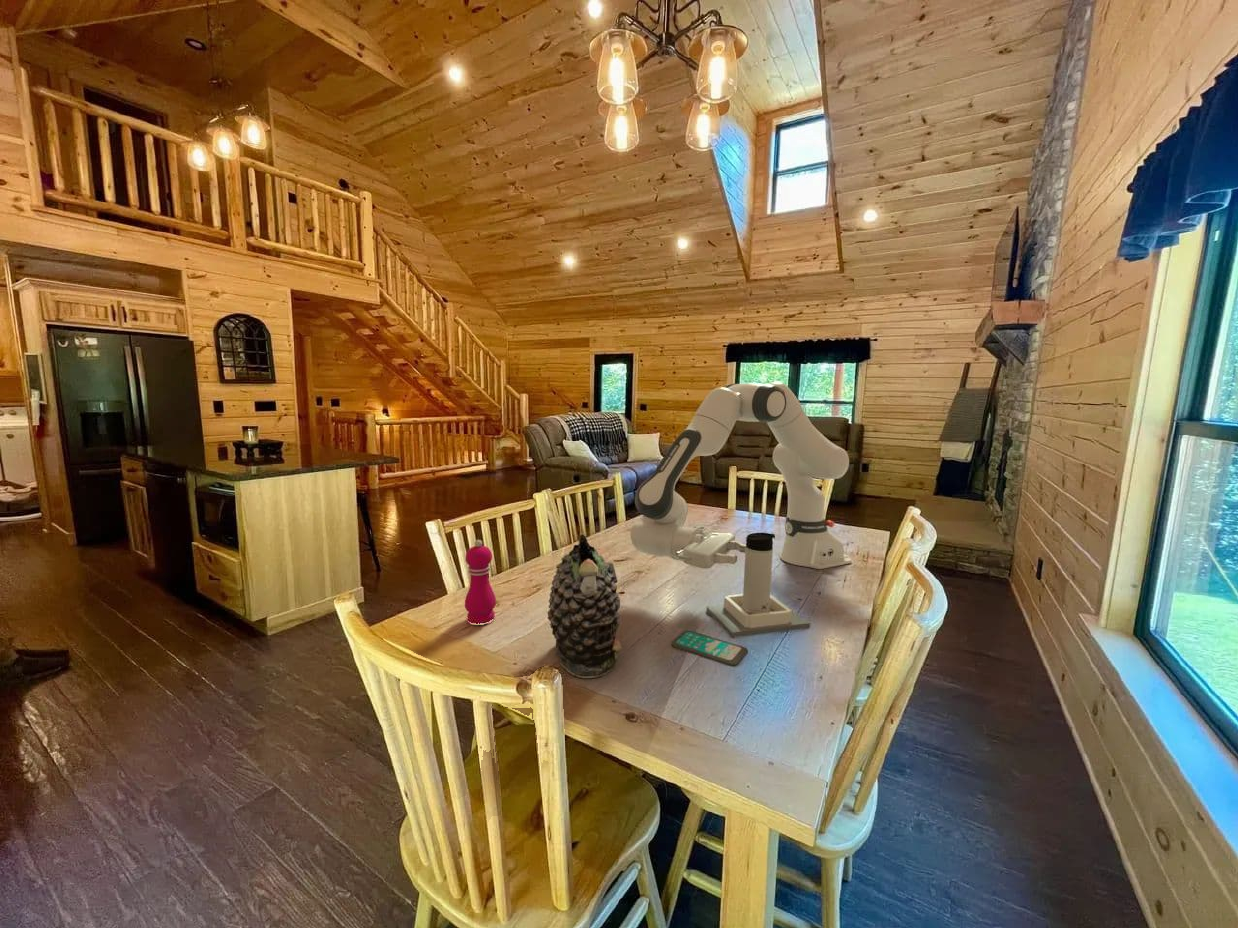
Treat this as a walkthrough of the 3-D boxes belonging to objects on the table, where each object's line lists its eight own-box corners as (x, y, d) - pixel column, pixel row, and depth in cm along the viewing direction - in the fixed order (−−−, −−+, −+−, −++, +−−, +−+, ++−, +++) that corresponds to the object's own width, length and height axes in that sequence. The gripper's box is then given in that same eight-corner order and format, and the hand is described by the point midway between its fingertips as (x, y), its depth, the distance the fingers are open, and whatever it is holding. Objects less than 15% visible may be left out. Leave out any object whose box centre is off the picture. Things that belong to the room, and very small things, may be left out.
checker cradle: (776, 602, 130) (777, 588, 129) (809, 627, 116) (810, 611, 116) (706, 610, 125) (706, 595, 124) (732, 637, 112) (733, 620, 111)
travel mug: (771, 620, 117) (776, 538, 114) (742, 617, 118) (746, 536, 115) (769, 608, 123) (774, 531, 120) (742, 606, 124) (746, 529, 121)
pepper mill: (502, 616, 121) (500, 537, 118) (485, 629, 114) (482, 546, 111) (477, 611, 123) (474, 534, 120) (459, 624, 117) (455, 542, 114)
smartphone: (735, 665, 99) (669, 643, 107) (735, 669, 99) (669, 647, 108) (750, 647, 106) (686, 628, 114) (749, 651, 106) (686, 632, 115)
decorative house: (634, 678, 96) (636, 554, 92) (557, 690, 91) (555, 561, 88) (606, 628, 115) (607, 524, 112) (542, 637, 111) (540, 529, 107)
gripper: (672, 543, 118) (729, 553, 111) (703, 524, 135) (753, 531, 128) (671, 568, 119) (727, 580, 112) (702, 546, 136) (752, 555, 129)
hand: (742, 554), depth 120 cm, fingers open, 8 cm apart
